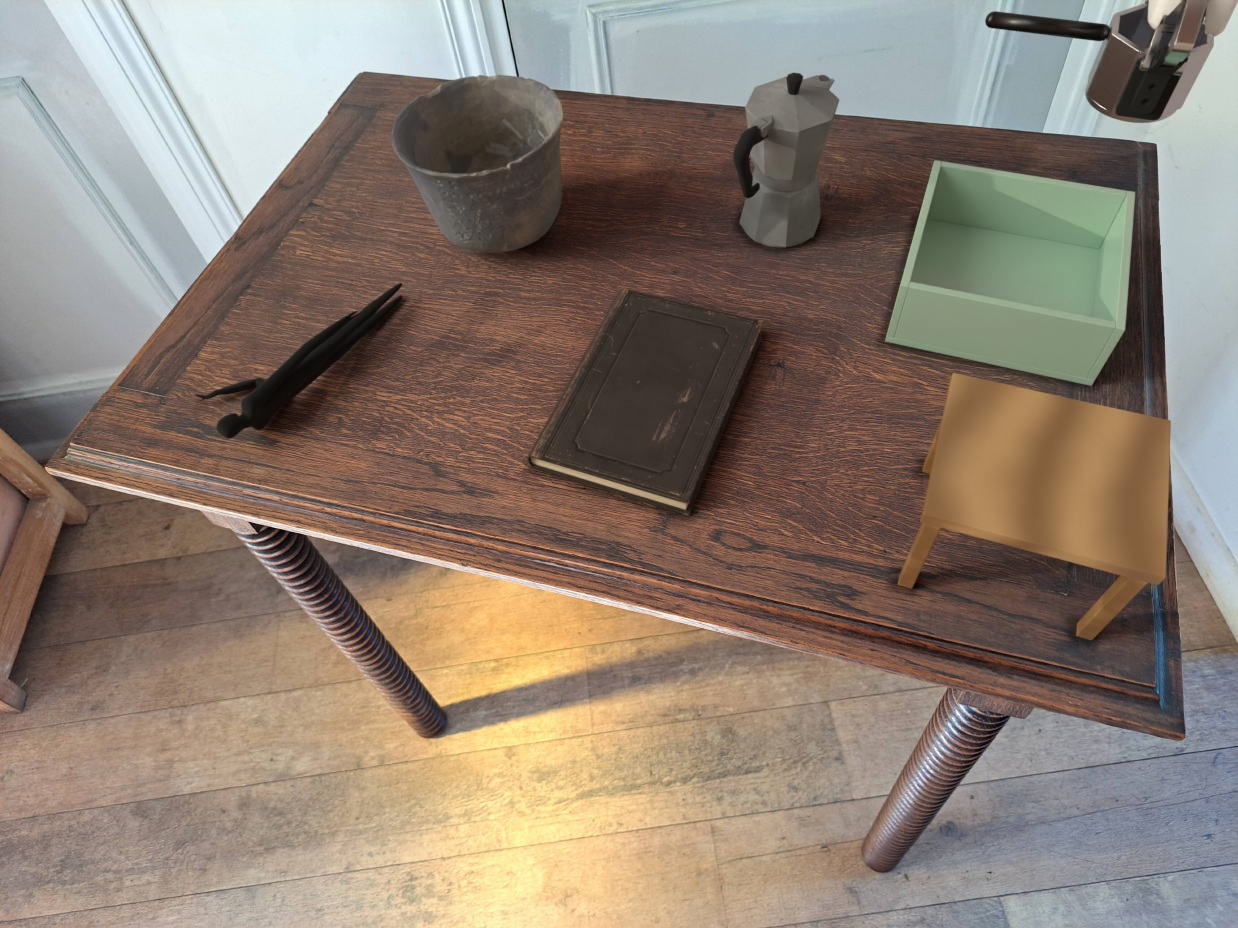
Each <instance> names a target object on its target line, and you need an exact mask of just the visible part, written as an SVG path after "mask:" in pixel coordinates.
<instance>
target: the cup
mask: <svg viewBox="0 0 1238 928" xmlns="http://www.w3.org/2000/svg"><path fill="white" fill-rule="evenodd" d="M563 111H564V110H563V105H562V102H561V100H560V99H559V97H558V96H557V94H556V92H555V91H554V90H552V89H551V88H550V87H549V86H548V85H547V84H544V83H542V82H540V81H538V80H536V79H533V78H530V77H527V78H525V77H523V76H514V75H504V74H495V75H490V76H489V75H483V74H478V75H476V76H475V75H471V76H464V77H459V78H456V79H455V78H454V79H451V80H448V81H446V82H443V83H441V84H439V85H438V86H437V87H436V88H435V89H433V90H432V91H430V92H429V93H426V94H419V95H418V96H416V97H415V98H414V99H413V100H412V101H411V102H409V103H406V104H405V105H404V106H403V107H402V108H401V109H400V110H399V111H398V113H397V114H396V117H395V119H394V121H393V124H392V128H391V134H390V142H391V146H392V149H393V151H394V153H395V154H396V155H397V157H398V158H399V159H400V160H401V162H402V163H403V164H404V166H405V168H406V169H407V171H408V172H409V174H410V176H411V178H412V180H413V182H414V184H415V186H416V187H417V189H418V191H419V194H420V196H421V198H422V200H423V202H424V204H425V206H426V208H427V209H428V211H429V213H430V215H431V217H432V218H433V220H434V222H435V224H436V225H437V227H438V229H439V230H440V232H441V233H442V234H443V236H444V237H445V238H446V239H447V240H448V241H450V242H451V243H452V244H453V245H455V246H457V247H459V248H461V249H465V250H468V251H471V252H475V253H476V252H477V253H485V254H486V253H488V254H493V253H508V252H513V251H517V250H519V249H523V248H525V247H527V246H529V245H531V244H533V243H535V242H538V240H539V239H541V238H542V237H544V236H545V234H547V233H548V232H549V231H550V229H551V227H552V226H553V224H554V222H555V220H556V218H557V216H558V214H559V212H560V209H561V205H562V199H563V180H562V179H563V178H562V163H561V161H562V159H561V147H560V145H561V144H560V143H561V142H560V141H561V132H562V128H563V123H564V112H563Z"/></svg>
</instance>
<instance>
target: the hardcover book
mask: <svg viewBox="0 0 1238 928" xmlns="http://www.w3.org/2000/svg"><path fill="white" fill-rule="evenodd" d="M599 324H600V325H599V326H598V328H597V330H596V331H595V333H594V335H593V337H592V339H591V341H590V342H589V344H588V346H587V348H586V350H585V351H584V353H583V355H582V357H581V359H580V361H579V363H578V364H577V366H576V368H575V370H574V372H573V373H572V375H571V377H570V379H569V381H568V383H567V384H566V386H565V388H564V389H563V390H562V393H561V395H560V397H559V399H558V400H557V402H556V404H555V406H554V407H553V410H552V411H551V413H550V415H549V416H548V419H547V421H546V422H545V423H544V426H543V428H542V429H541V431H540V433H539V435H538V437H537V438H536V440H535V442H534V444H533V446H532V447H531V449H530V451H529V453H528V454H527V462H528V464H529V465H530V467H532V468H533V469H535V470H538V471H541V472H544V473H546V474H547V473H548V474H551V475H554V476H557V477H561V478H563V479H567V480H570V481H573V482H576V483H581V484H584V485H587V486H590V487H594V488H597V489H600V490H603V491H607V492H610V493H612V494H616V495H619V496H623V497H627V498H629V499H633V500H636V501H639V502H642V503H646V504H649V505H653V506H656V507H659V508H662V509H666V510H668V511H672V512H675V513H679V514H682V515H685V516H690V514H691V512H692V509H693V507H694V505H695V502H696V499H697V497H698V495H699V492H700V489H701V487H702V484H703V482H704V480H705V477H706V475H707V472H708V470H709V468H710V465H711V463H712V461H713V457H714V455H715V453H716V451H717V448H718V446H719V444H720V441H721V438H722V436H723V434H724V431H725V429H726V427H727V424H728V422H729V419H730V418H731V417H730V416H731V414H732V412H733V409H734V407H735V404H736V402H737V400H738V397H739V394H740V392H741V390H742V387H743V385H744V382H745V380H746V378H747V376H748V374H749V373H748V372H749V371H750V368H751V365H752V363H753V361H754V358H755V355H756V353H757V351H758V349H759V347H760V344H761V341H762V338H763V336H764V334H763V333H761V331H762V329H763V327H764V325H765V321H764V320H761V319H756V318H752V317H747V316H743V315H739V314H734V313H732V312H731V313H730V312H726V311H722V310H718V309H714V308H711V307H710V308H709V307H705V306H700V305H696V304H692V303H688V302H684V301H680V300H675V299H670V298H667V297H662V296H658V295H655V294H649V293H644V292H641V291H637V290H632V289H628V288H620V289H619V290H618V291H617V294H616V295H615V298H613V301H612V303H611V305H610V307H609V308H608V310H607V312H606V314H605V315H604V317H603V319H602V321H601V322H600V323H599Z"/></svg>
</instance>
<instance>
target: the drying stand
mask: <svg viewBox="0 0 1238 928" xmlns="http://www.w3.org/2000/svg"><path fill="white" fill-rule="evenodd" d="M1171 423H1172V421H1171V420H1170V419H1165V418H1162V417H1156V416H1151V415H1147V414H1143V413H1138V412H1133V411H1129V410H1125V409H1120V408H1116V407H1111V406H1106V405H1102V404H1096V403H1093V402H1088V401H1084V400H1079V399H1074V398H1069V397H1065V396H1062V395H1058V394H1057V395H1056V394H1053V393H1048V392H1043V391H1038V390H1033V389H1029V388H1025V387H1021V386H1014V385H1010V384H1006V383H1001V382H997V381H993V380H988V379H983V378H979V377H974V376H970V375H966V374H961V373H958V372H957V373H956V372H953V373H952V374H951V377H950V380H949V383H948V387H947V392H946V398H945V402H944V407H943V411H942V416H941V418H940V421H939V424H938V427H937V429H936V432H935V434H934V437H933V439H932V442H931V443H930V447H929V449H928V451H927V454H926V457H925V459H924V461H923V462H924V463H923V466H922V473H924V474H929V477H928V483H927V487H926V491H925V498H924V501H923V506H922V509H921V510H922V511H921V515H920V520H919V522H920V523H921V524H920V526H919V529H918V532H917V533H916V536H915V538H914V540H913V543H912V544H911V547H910V550H909V552H908V554H907V557H906V559H905V561H904V563H903V565H902V567H901V570H900V573H899V577H898V581H897V585H898V586H900V587H903V588H907V589H913V587H914V585H915V583H916V582H917V579H918V578H919V575H920V573H921V571H922V569H923V567H924V565H925V562H926V560H927V558H928V556H929V554H930V552H931V549H932V548H933V546H934V543H935V541H936V539H937V537H938V535H939V533H940V531H941V529H945V530H948V531H952V532H956V533H960V534H963V535H966V536H970V537H974V538H979V539H982V540H986V541H990V542H994V543H997V544H1001V545H1005V546H1008V547H1012V548H1016V549H1020V550H1024V551H1027V552H1030V553H1031V552H1032V553H1035V554H1039V555H1042V556H1045V557H1050V558H1053V559H1057V560H1061V561H1065V562H1069V563H1072V564H1077V565H1079V566H1084V567H1088V568H1091V569H1095V570H1098V571H1099V570H1100V571H1103V572H1106V573H1110V574H1114V575H1118V577H1117V579H1115V580H1114V582H1113V583H1112V584H1111V585H1110V586H1109V587H1108V588H1107V589H1106V591H1105V592H1104V593H1103V594H1102V595H1101V596H1100V597H1099V599H1098V600H1096V602H1095V603H1094V604H1093V605H1092V606H1091V607H1090V608H1089V610H1087V612H1086V613H1085V614H1084V615H1083V616H1082V617H1081V618H1080V619H1079V621H1078V622H1077V623H1076V632H1075V636H1076V637H1079V638H1082V639H1085V640H1089V641H1093V640H1094V639H1095V638H1096V637H1097V636H1098V635H1099V634H1100V633H1101V632H1102V631H1103V630H1104V629H1105V628H1106V627H1107V625H1109V624H1110V623H1111V622H1112V620H1113V619H1114V618H1116V616H1117V615H1119V613H1120V612H1121V611H1122V610H1123V609H1124V608H1125V607H1126V606H1127V605H1128V604H1129V603H1130V602H1131V601H1132V600H1133V599H1134V598H1135V597H1136V596H1137V595H1138V594H1139V593H1140V592H1141V591H1142V589H1144V588H1145V587H1146V586H1147V585H1148V584H1152V585H1155V586H1159V585H1160V584H1162V582H1164V580H1165V579H1166V578H1167V553H1168V528H1169V527H1168V525H1169V524H1168V523H1169V491H1170V463H1171V460H1170V458H1171V430H1172V428H1171V427H1172V424H1171Z"/></svg>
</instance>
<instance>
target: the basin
mask: <svg viewBox="0 0 1238 928" xmlns="http://www.w3.org/2000/svg"><path fill="white" fill-rule="evenodd" d="M1135 200H1136V191H1132V190H1125V189H1120V188H1119V189H1118V188H1114V187H1113V188H1112V187H1106V186H1099V185H1094V184H1087V183H1082V182H1075V181H1068V180H1061V179H1055V178H1049V177H1043V176H1037V175H1031V174H1025V173H1019V172H1012V171H1005V170H1000V169H993V168H987V167H981V166H980V167H979V166H974V165H967V164H962V163H956V162H949V161H942V160H936V159H935V160H934V161H933V164H932V166H931V171H930V175H929V179H928V181H927V186H926V189H925V193H924V197H923V200H922V204H921V207H920V212H919V215H918V219H917V222H916V226H915V230H914V233H913V236H912V240H911V244H910V248H909V252H908V255H907V259H906V262H905V266H904V270H903V273H902V278H901V280H900V284H899V287H898V291H897V296H896V299H895V303H894V307H893V310H892V313H891V317H890V321H889V325H888V328H887V332H886V335H885V339H884V342H885V343H889V344H895V345H900V346H905V347H908V348H914V349H918V350H922V351H928V352H932V353H936V354H942V355H946V356H951V357H955V358H960V359H965V360H969V361H975V362H978V363H984V364H988V365H993V366H996V367H997V366H998V367H1002V368H1006V369H1011V370H1016V371H1021V372H1025V373H1030V374H1034V375H1038V376H1044V377H1049V378H1053V379H1058V380H1061V381H1062V380H1063V381H1067V382H1072V383H1075V384H1081V385H1085V386H1086V385H1087V386H1090V387H1092V386H1093V385H1094V383H1095V381H1096V379H1097V378H1098V376H1099V375H1100V373H1101V371H1102V370H1103V368H1104V366H1105V364H1106V363H1107V361H1108V360H1109V358H1110V356H1111V355H1112V353H1113V351H1114V349H1115V348H1116V346H1117V345H1118V343H1119V342H1120V340H1121V338H1122V336H1123V334H1124V333H1125V331H1126V325H1127V311H1128V297H1129V286H1130V285H1129V284H1130V271H1131V270H1130V269H1131V258H1132V257H1131V256H1132V244H1133V242H1132V241H1133V230H1134V229H1133V228H1134V217H1135Z"/></svg>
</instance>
